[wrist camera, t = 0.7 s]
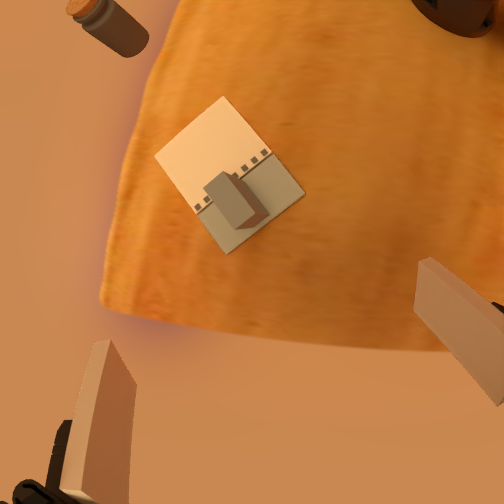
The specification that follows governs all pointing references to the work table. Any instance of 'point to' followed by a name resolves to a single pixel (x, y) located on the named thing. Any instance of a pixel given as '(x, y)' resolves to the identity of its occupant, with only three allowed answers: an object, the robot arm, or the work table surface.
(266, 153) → the notepad
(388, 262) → the work table surface
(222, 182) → the stub
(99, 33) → the bottle
